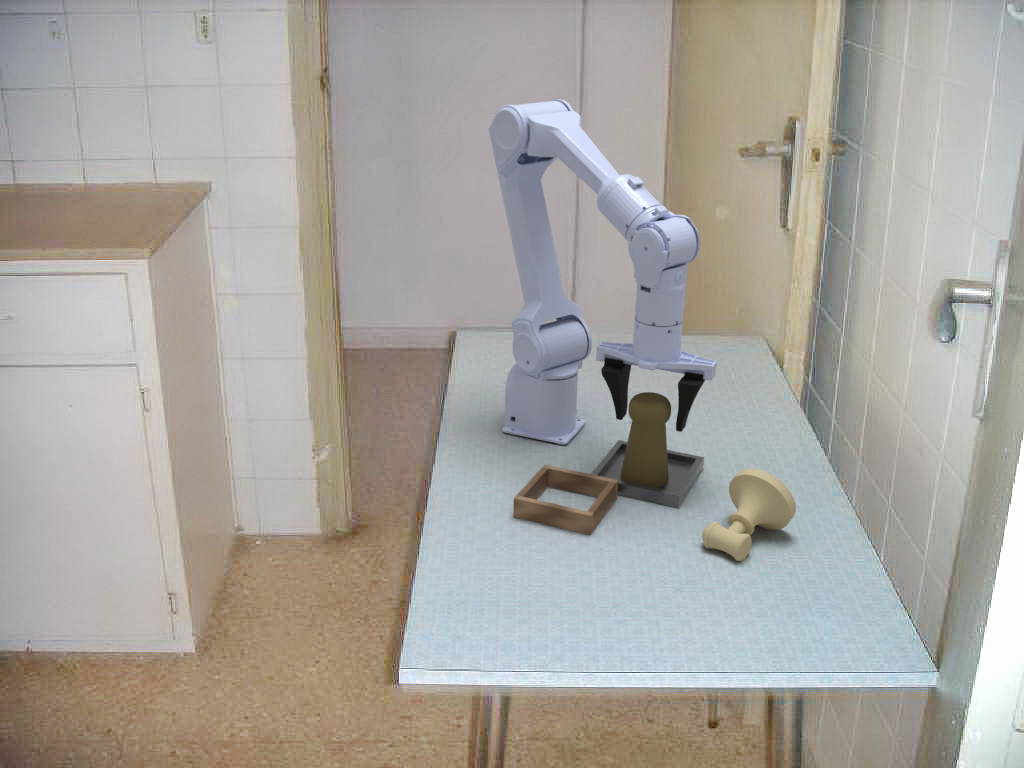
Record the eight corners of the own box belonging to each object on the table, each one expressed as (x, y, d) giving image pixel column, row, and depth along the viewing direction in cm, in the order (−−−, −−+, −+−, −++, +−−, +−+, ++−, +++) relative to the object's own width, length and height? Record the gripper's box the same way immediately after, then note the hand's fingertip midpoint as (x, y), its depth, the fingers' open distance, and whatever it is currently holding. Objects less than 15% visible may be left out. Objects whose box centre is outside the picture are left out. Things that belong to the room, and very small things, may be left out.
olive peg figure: (677, 474, 137) (684, 394, 132) (655, 492, 132) (661, 410, 128) (634, 461, 140) (640, 382, 136) (611, 479, 135) (616, 398, 131)
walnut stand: (513, 516, 128) (513, 498, 127) (544, 482, 136) (544, 464, 135) (590, 535, 124) (591, 515, 123) (617, 498, 132) (618, 480, 131)
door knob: (749, 537, 115) (685, 512, 120) (754, 588, 120) (692, 562, 125) (794, 481, 121) (731, 459, 125) (797, 532, 125) (736, 509, 130)
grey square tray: (587, 488, 135) (588, 476, 134) (617, 450, 144) (618, 440, 144) (678, 508, 130) (679, 496, 130) (703, 468, 140) (704, 457, 140)
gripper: (589, 319, 128) (584, 423, 134) (710, 339, 123) (699, 446, 128) (609, 302, 134) (603, 402, 140) (724, 320, 129) (714, 424, 134)
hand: (650, 422), depth 134 cm, fingers open, 7 cm apart
